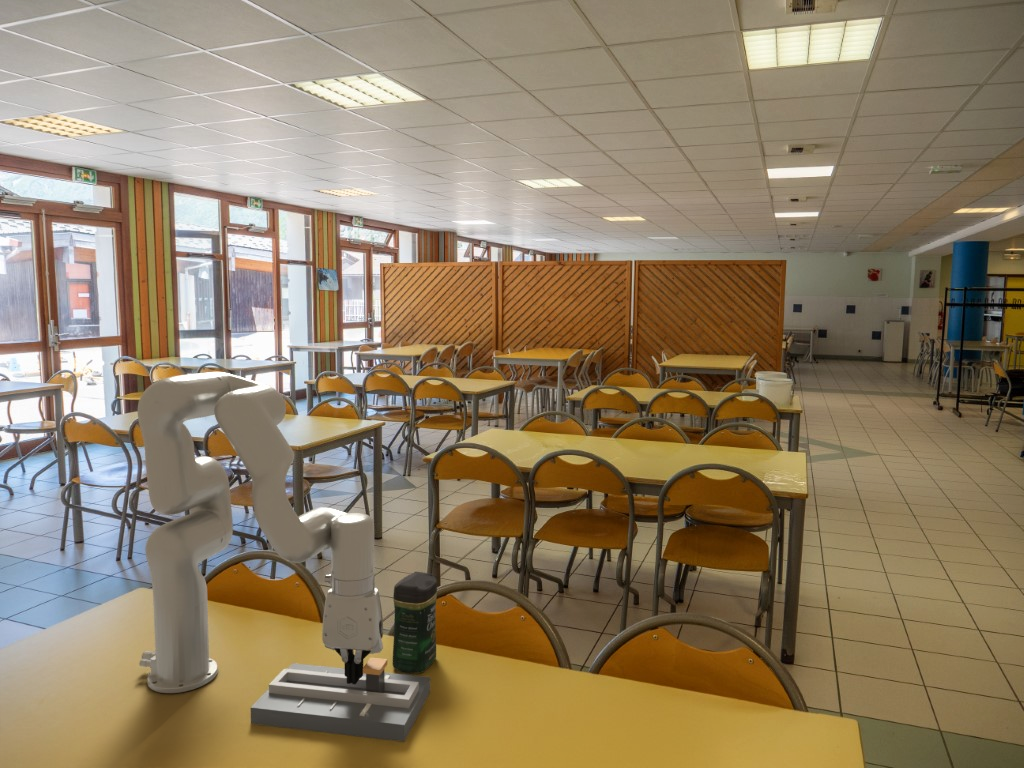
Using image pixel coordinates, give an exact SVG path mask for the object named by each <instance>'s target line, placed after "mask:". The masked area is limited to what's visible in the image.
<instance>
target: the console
mask: <svg viewBox="0 0 1024 768" xmlns="http://www.w3.org/2000/svg"><path fill="white" fill-rule="evenodd" d="M384 681H385V691H384V693H378V692H368V691H366V674H363V676H362V678H360V679H359V681H358V682H357V683H356V684H352V683H350V684H347V677H346V676H345V667H344V668H343V667H334V666H323V665H315V664H314V665H313V664H302V663H296V662H295V663H294V662H292V663H291V665H289V666H288V668H283V669H282V670H281V671H280V672H279V673H278V674H277V675H276V676H275V677H274V678H273V679H272V681H271V682H270V683H269V684H268V689H266V690H265V692H264V693H262V695H261V696H260V697H259V698H258V699H257V700H256V701H255V702H254V703H253V704H252V705H251V706H250V725H251V724H252V725H261V726H265V727H266V726H267V727H277V728H283V729H284V728H285V729H286V728H287V729H292V730H302V731H303V730H304V731H309V732H310V731H311V732H320V733H328V734H336V735H345V736H351V737H352V736H353V737H362V738H370V739H378V740H388V741H397V742H403V743H405V741H406V740H407V737H408V736H409V733H410V732H411V731H412V730H411V729H412V728H413V726H414V724H415V722H416V720H417V718H418V716H419V714H420V713H421V711H422V708H423V707H424V705H425V703H426V701H427V700H428V697H429V695H430V693H431V677H430V676H424V675H423V676H422V675H414V674H413V675H412V674H405V673H403V674H402V673H392V672H384Z"/></svg>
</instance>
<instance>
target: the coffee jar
mask: <svg viewBox="0 0 1024 768" xmlns="http://www.w3.org/2000/svg"><path fill="white" fill-rule="evenodd" d="M392 597H393V598H392V599H393V606H394V618H393V619H394V622H393V623H394V624H393V625H394V627H393V646H392V666H393V668H394V669H395V670H397V671H398V672H400V673H403V674H408V675H412V674H419V673H423V672H425V671H427V669H429V668H430V666H431V665H432V664H433V663H434V662H435V660H436V658H437V635H436V634H437V631H436V627H437V626H436V624H437V623H436V621H437V620H436V616H437V615H436V613H437V611H436V609H437V608H436V607H437V597H438V581H437V578H436V577H435V576H434V575H433V574H432V573H428V572H423V571H414V572H413V573H411V574H410V573H409V574H408V575H405V576H404V577H403V578H401V579H400V580H399V581H398V582H397V583H396V584H394V587H393V596H392Z"/></svg>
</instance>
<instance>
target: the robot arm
mask: <svg viewBox="0 0 1024 768" xmlns="http://www.w3.org/2000/svg"><path fill="white" fill-rule="evenodd" d="M286 412H287V405H286V401H285V399H284V397H283V395H282V394H281V393H280V392H279V391H278V390H277V389H275V388H274V387H272V386H271V385H268V384H264V383H261V382H259V381H256V380H251V379H250V378H249V379H248V378H245V377H242V376H237V375H235V374H231V373H228V372H223V371H207V372H198V373H188V374H187V373H186V374H180V375H172V376H169V377H164V378H162V379H159V380H157V381H155V382H154V383H152V384H150V385H148V387H147V388H145V390H144V391H143V392H142V394H141V396H140V398H139V400H138V404H137V420H138V426H139V429H140V433H141V436H142V441H143V447H144V455H145V456H144V458H145V459H144V460H145V469H146V476H147V477H146V478H147V491H148V497H149V500H150V504H151V506H152V508H153V510H155V512H157V513H158V514H161V515H163V516H171V515H172V516H173V515H178V514H180V513H185V512H186V511H189V513H190V514H189V513H188V514H186V515H183V516H180V517H177V518H175V519H173V520H171V521H168V522H166V523H163V524H162V525H160V526H158V527H157V528H156V529H154V531H153V532H151V533H150V535H149V536H148V538H147V540H146V542H145V543H146V544H145V548H144V549H145V557H146V561H147V566H148V568H149V572H150V578H151V583H152V584H151V585H152V599H153V600H152V601H153V604H152V605H153V622H154V623H153V624H154V625H153V626H154V649H155V651H152V650H151V651H150V650H145V651H143V653H142V654H141V659H140V661H139V663H138V664H139V666H140V667H144V668H146V667H147V668H150V673H148V675H147V679H146V680H147V681H146V682H147V687H148V688H149V689H150V690H151V691H154V692H156V693H161V694H179V693H184V692H185V693H186V692H189V691H193V690H195V689H197V688H198V689H199V688H200V687H203V686H205V685H206V684H208V683H210V682H211V681H212V680H213V679H215V678H216V676H217V675H218V672H219V665H218V663H217V661H215V659H213V658H210V647H209V646H210V645H209V642H210V641H209V640H210V639H209V638H210V637H209V614H208V613H209V611H208V609H209V608H208V607H209V606H208V603H209V602H208V587H207V583H206V579H205V577H204V575H203V574H202V572H201V570H200V569H199V564H200V563H201V562H203V561H205V560H208V559H209V558H211V557H213V556H215V555H217V554H219V553H220V552H223V550H225V549H226V548H227V547H228V546H229V545H230V542H231V540H232V538H233V533H234V523H233V511H232V509H233V508H232V500H231V489H230V482H229V481H230V480H229V477H228V474H227V470H226V469H225V467H224V466H223V465H222V464H221V463H220V462H219V461H218V460H217V459H215V458H213V457H211V456H203V455H202V456H196V455H195V443H194V439H193V436H192V434H191V432H190V430H189V429H188V428H187V426H186V425H185V424H184V423H185V422H187V421H190V420H195V419H199V418H206V417H210V416H214V418H215V420H216V423H217V425H218V426H219V427H220V429H221V431H222V432H223V434H224V435H225V437H226V439H227V440H228V441H229V443H230V445H231V447H232V448H233V450H234V451H235V453H236V455H237V456H238V458H239V459H240V461H241V462H242V465H243V466H244V468H245V469H246V471H247V472H248V474H249V476H250V477H251V482H252V485H251V487H252V488H251V496H252V497H251V498H252V505H253V511H254V516H255V519H256V523H257V525H258V527H259V528H260V530H261V532H262V533H263V535H264V537H265V538H266V539H267V541H268V543H269V544H270V546H271V547H272V548H273V550H274V551H275V552H276V553H277V554H278V556H279V557H281V559H283V560H284V561H287V562H289V563H292V564H301V563H303V562H306V561H309V560H310V559H312V558H314V557H315V556H317V555H318V554H320V553H321V552H324V551H326V550H331V552H330V553H331V554H330V556H331V557H330V558H331V560H330V561H331V573H329V574H325V576H324V582H325V583H328V584H330V589H328V590H327V592H326V596H325V601H324V608H323V616H322V617H323V618H322V629H321V630H322V633H321V637H322V643H323V645H324V647H325V648H326V649H329V650H332V651H335V652H336V653H337V654H338V655H339V656H340V657H341V661H342V662H343V663H344V668H345V676H346V677H347V684H350V683H352V684H356V683H357V682H358V681H359V679H360V678H362V676H363V667H364V659H366V657H367V656H369V655H373V654H379V653H381V652H382V651H383V649H384V645H383V642H382V639H383V635H384V622H383V621H384V620H383V619H384V618H383V611H382V604H381V603H382V602H381V596H380V593H379V590H378V589H379V588H377V587H375V523H374V522H375V521H374V519H373V518H372V516H370V515H369V514H366V513H361V512H351V513H350V512H346V511H342V510H338V509H335V508H332V507H328V506H319V507H315V508H312V509H310V510H309V511H307V512H304V513H302V514H300V515H298V514H297V513H296V511H295V510H294V508H293V506H292V504H291V503H290V500H289V498H288V495H287V491H286V480H287V479H286V477H287V475H288V472H289V470H290V468H291V465H292V464H293V462H294V460H295V452H294V450H293V449H292V447H291V445H290V444H289V442H288V441H287V439H286V438H285V437H284V435H283V433H282V431H281V430H280V429H279V426H278V425H279V424H280V423H282V421H283V420H284V419H285V416H286Z"/></svg>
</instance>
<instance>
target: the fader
mask: <svg viewBox="0 0 1024 768" xmlns="http://www.w3.org/2000/svg"><path fill="white" fill-rule="evenodd" d="M387 666H388V659H387V658H381V657H380V658H379V657H370V658H369V659H368V660H367V662H366V663H365V664H364V665H363V674H366V691H368V692H378V693H384V691H385V681H384V673H385V669H386V667H387Z"/></svg>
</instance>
